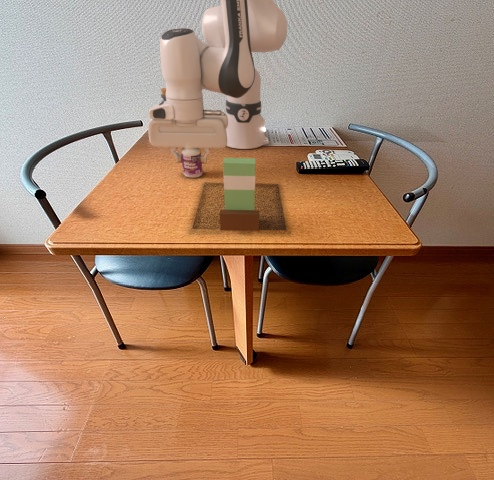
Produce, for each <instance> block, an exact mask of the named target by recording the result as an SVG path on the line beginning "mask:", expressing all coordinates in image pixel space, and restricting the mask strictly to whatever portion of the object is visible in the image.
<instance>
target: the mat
mask: <svg viewBox="0 0 494 480" xmlns="http://www.w3.org/2000/svg"><path fill="white" fill-rule="evenodd" d="M219 187H220V189H221V190H218V188H219ZM255 189H257V190H255V200H256V202H255V203H254V210H225V196H224V183H222V182H218V183H217V182H214V183H210V182H204V185H203V188H202V192H201V196H200V202H199V204H198V206H197V210H196V215H195V216H194V217H195V218H194V221H193V225H192V228H191V229H195V230H198V229H199V228H202V230H205V229H206V230H215V231H216V230H217V231H219V230H220V231H254V232H255V231H257V232H258V231H287V225H286V224H287V223H286V220H285V213H284V209H283V203H282V196H281V191H280V186H279V183H261V184H260V186H259V184H258V183H255ZM264 195H265V196H264Z"/></svg>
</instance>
